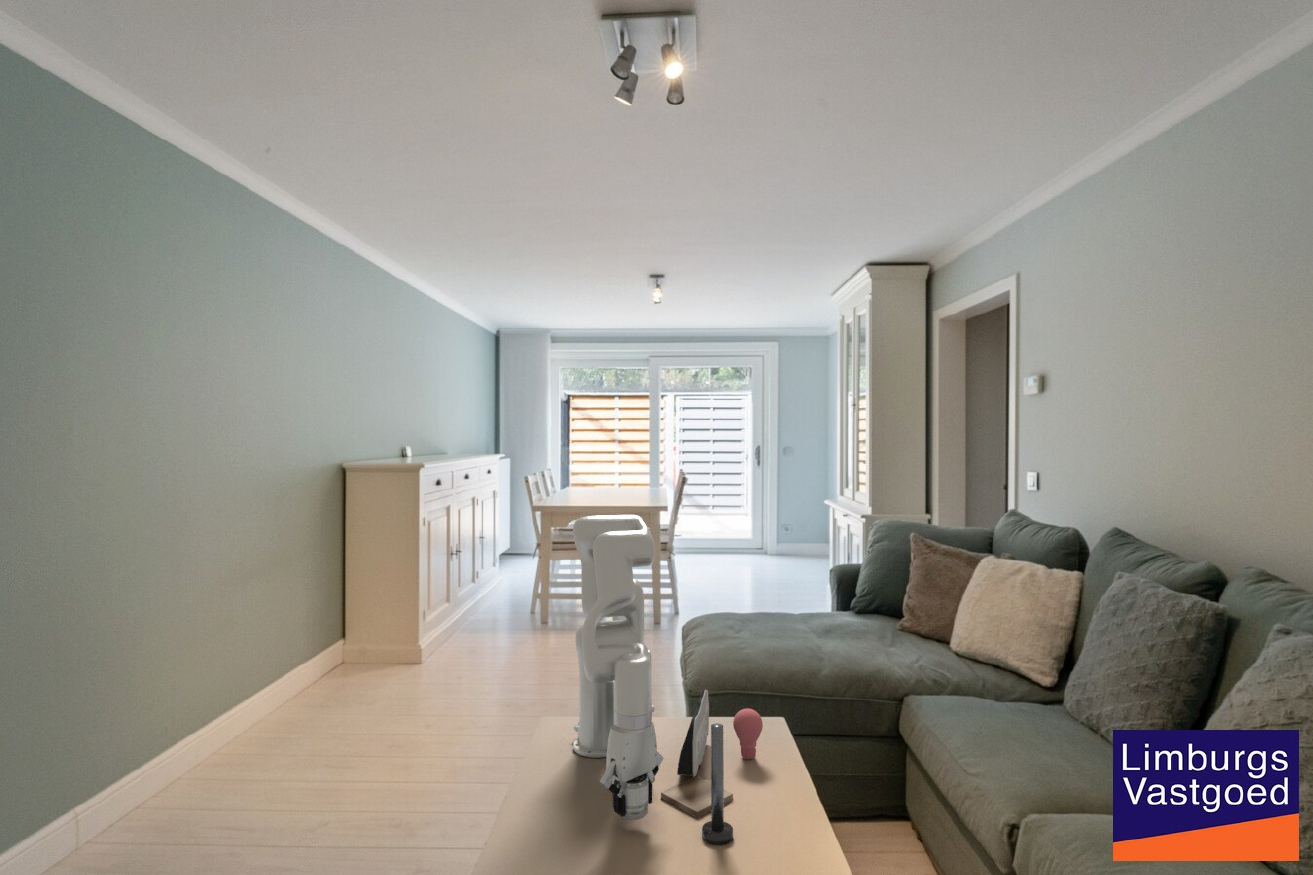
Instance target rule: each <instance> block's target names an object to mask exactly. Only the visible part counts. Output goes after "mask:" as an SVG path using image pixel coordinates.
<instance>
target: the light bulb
mask: <svg viewBox="0 0 1313 875" xmlns="http://www.w3.org/2000/svg"><path fill="white" fill-rule="evenodd" d="M732 723H733V729H734V732H735V734H736V736H737V738H738V739H739V747H740V754H741V757H742V758H743V759H746V760H753V759H755V758H756V757H757V756H756V755H757V748H756V747H757V742H758V739H759V737H760V736H761V733H762V731H763V726H764V725H763V719H762V716H761V715H760V713H758V712H757V711H756V710H755V709H752V708H743V709H741V710H738V712H737V713H736V714H735V716H734V718H733V722H732Z"/></svg>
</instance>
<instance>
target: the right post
mask: <svg viewBox="0 0 1313 875" xmlns="http://www.w3.org/2000/svg"><path fill="white" fill-rule="evenodd" d="M710 760H711V761H710V762H711V763H710V764H711V766H710V773H711V774H710V776H711V778H710V779H711V782H710V783H711V811H710V812H711V820H710V821H708V822H705V823H704V824H703V825H702V828H701V830H702V832H701V833H702V834H701V835H702V840H704V842H706V843H708V844H710V845H712V846H723V845H728V844H730V843H731V842H732V841H733V840H734V828H733V826H732V825H731V824H730V823H728V822H726V821H724V819H725V817H724V815H725V814H724V813H725V810H724V807H725V804H724V790H725V789H724V788H725V787H724V782H725V780H724V777H725V776H724V769H725V768H724V724H723V723H712V724H711V725H710Z"/></svg>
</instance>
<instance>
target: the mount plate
mask: <svg viewBox="0 0 1313 875" xmlns="http://www.w3.org/2000/svg"><path fill="white" fill-rule="evenodd" d="M660 799H662V800H664V801H666V802H668V803H670V805H671V804H672V805H673V806H675V807H677V808H679V809H680V810H682V811H684V812H686V813H687V814H690V815H692V817H695V818H699V817H701V816H703V815H705V814H707V813H709V812H711V782H709V781H707V780H705V779H703V778H701V777H699V776H698V775H697V776H696V775H695V777H691V778H689V779H687V780H685V781H683V782H680V783H678V784H676V785H674V786H671V787H670V788H668V789H665V790H664V791H661V792H660ZM733 799H734V794H733V793H732V792H730V791H728V790H726V789H724V805H725V804H727V803H729V802H731V801H733Z"/></svg>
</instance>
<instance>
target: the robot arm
mask: <svg viewBox="0 0 1313 875" xmlns="http://www.w3.org/2000/svg"><path fill="white" fill-rule="evenodd" d="M572 527H573V528H572V529H573V530H572V536H573V537H572V538H573V541H574V545H575V547H576V551H577V553H578V555H579V559H580V565H581V571H580V572H581V577H580V578H581V584H580V586H581V608H582V612H583V614H584V615H585V616H586V618H585V619H584V623H583V624H582V625H581V626H579V627H578V628H577V630H576V633H575V648H576V654H577V661H578V678H579V681H578V682H579V684H578V686H579V688H578V691H579V692H578V693H579V697H578V698H579V700H578V702H579V704H578V706H579V707H578V709H579V712H578V713H579V715H578V716H579V719H578V720H579V721H578V723H577V725H576V724H575V725H574V726H573V731H574V732H577V738H576V739H575V740H574V742H573V745H572V746H573V748H572V749H573V751H574V752H575V753H576V754H577V755H579V756H582V757H586V758H594V759H595V758H597V759H598V758H606V763H605V764H606V765H605V766H606V767H605V769H606V770H605V772H604V773H603V775H602V776H601V779H600V781H599V782H600V784H601V785H602V786H604V787H605V788H606V789H607V791H609V792H610V793H612V809H613V810H612V811H613V812H614V813H616V814H617V815H618V816H620V817H621V816H622V817H623V816H625V815H626V797H625V796H624V795H623V793H624V790H625V787H626V783H627V781H629V780H631V779H633V778H636V777H638V776H640V775H643V774H645V773H646V774H647V776H648V779H649V780H648V801H649V803H648V805H650V804H652V803H653V783H654V782H655V780H656V776H657V773H658V772H659V769H660V766H661V764H662V763H663V761H664V756H663V755H662V754H661V753H660V752H658V745H657V735H656V729H655V728H656V727H655V724H654V722H653V718H652V716H653V713H654V712H655V707H654V705H653V699H652V698H653V688H652V686H653V679H652V678H653V663H652V659H653V658H652V652H651V650H650V649H649V648H648V646H647V645H646V644H645V594H644V593H645V592H644V588H643V585H642V584H641V583H640V581H639V580H637V579H636V578H635V577H634V572H633V571H634V570H633V568H637V567H638V568H639V567H641V568H642V567H649V566H651V565H652V564H654V561H655V559H656V553H657V552H656V544H655V540H654V536H653V535H652V532H651V530H650V529H649V526H648V525H647V523H645V521H644V520H643V518H642V517H641V516H639V515H636V514H616V515H615V514H614V515H613V514H609V515H607V514H606V515H602V514H600V515H589V516H588V515H587V516H583V517H580V518H578V519H576V521H575V522H574V524H573V526H572ZM615 617H617V618H618V617H624V618H625V619H621V620H605V621H604V620H603V619H605V618H615ZM601 620H602V621H601ZM618 782H620V785H619V788H617V785H618ZM622 817H621V818H622Z"/></svg>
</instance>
